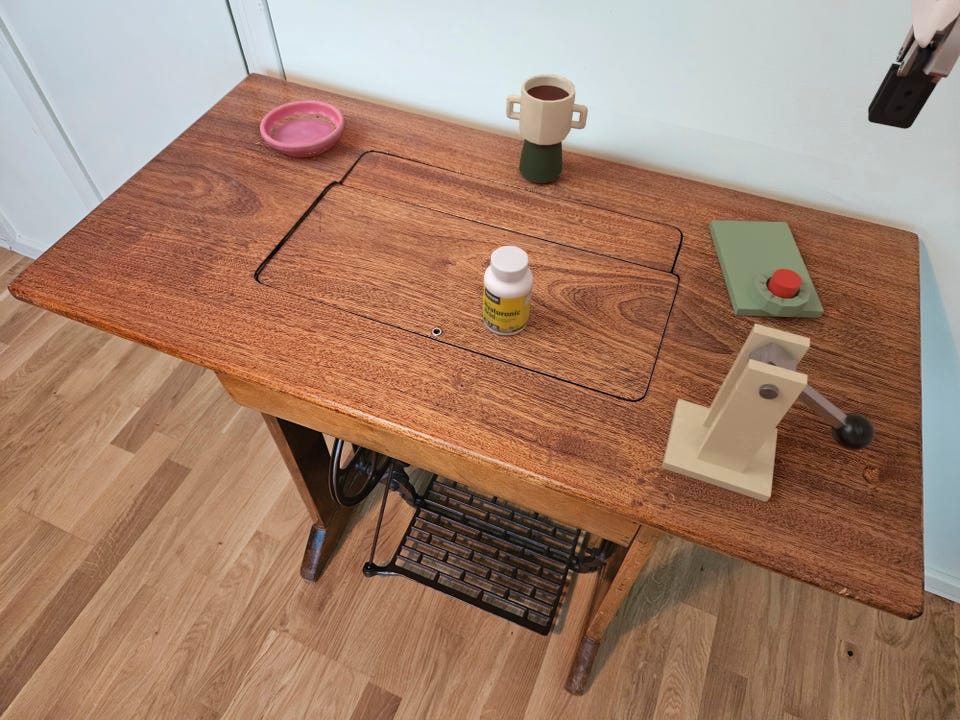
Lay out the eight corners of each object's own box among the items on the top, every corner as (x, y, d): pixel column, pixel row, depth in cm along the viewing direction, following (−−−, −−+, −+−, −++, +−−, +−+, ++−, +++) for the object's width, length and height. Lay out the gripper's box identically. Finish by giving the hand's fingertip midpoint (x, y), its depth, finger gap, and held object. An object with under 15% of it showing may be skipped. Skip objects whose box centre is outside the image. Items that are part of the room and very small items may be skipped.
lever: (848, 431, 56) (883, 421, 53) (847, 461, 54) (884, 451, 51) (745, 350, 53) (778, 334, 50) (741, 378, 51) (774, 363, 48)
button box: (822, 324, 72) (834, 307, 70) (737, 322, 73) (745, 304, 70) (783, 229, 83) (792, 211, 81) (708, 227, 83) (715, 209, 81)
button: (799, 299, 71) (805, 288, 70) (771, 298, 71) (777, 287, 70) (791, 279, 73) (797, 269, 72) (764, 279, 73) (770, 268, 72)
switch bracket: (773, 434, 63) (847, 334, 51) (766, 502, 59) (845, 410, 46) (675, 404, 65) (723, 301, 53) (661, 468, 61) (709, 371, 48)
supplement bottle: (475, 329, 72) (475, 267, 64) (492, 297, 75) (494, 235, 67) (519, 343, 70) (525, 281, 63) (535, 310, 73) (542, 248, 66)
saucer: (279, 173, 89) (273, 154, 87) (254, 130, 96) (248, 111, 94) (359, 149, 93) (356, 130, 91) (330, 110, 100) (327, 91, 97)
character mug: (580, 165, 91) (594, 79, 81) (572, 194, 87) (586, 107, 77) (509, 153, 93) (513, 68, 83) (497, 181, 89) (501, 95, 78)
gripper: (1170, -131, 30) (945, 183, 45) (1103, -196, 39) (932, 85, 53) (1000, -148, 32) (835, 161, 46) (971, -207, 41) (840, 69, 55)
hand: (887, 119), depth 50 cm, fingers closed
